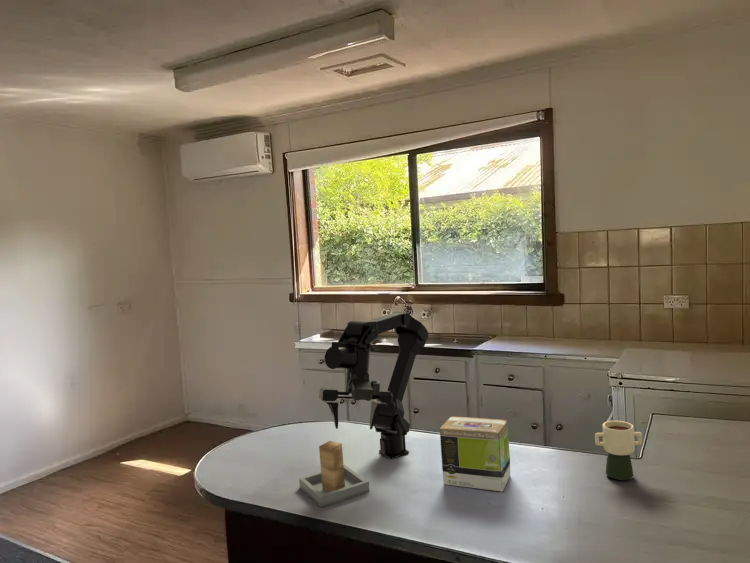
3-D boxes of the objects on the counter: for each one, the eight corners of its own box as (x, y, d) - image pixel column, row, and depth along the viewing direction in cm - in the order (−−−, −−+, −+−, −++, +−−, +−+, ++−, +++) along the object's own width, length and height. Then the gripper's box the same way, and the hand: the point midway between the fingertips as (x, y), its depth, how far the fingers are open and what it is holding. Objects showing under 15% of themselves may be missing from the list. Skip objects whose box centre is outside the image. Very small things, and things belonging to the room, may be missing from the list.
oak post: (333, 482, 148) (329, 440, 147) (345, 485, 145) (341, 443, 144) (322, 488, 145) (319, 446, 143) (334, 492, 142) (331, 449, 141)
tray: (345, 473, 154) (344, 464, 154) (369, 491, 143) (368, 481, 142) (299, 487, 147) (299, 478, 147) (321, 507, 136) (320, 497, 136)
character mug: (638, 470, 144) (637, 419, 143) (647, 483, 137) (646, 430, 136) (592, 470, 146) (591, 420, 144) (599, 483, 139) (598, 431, 137)
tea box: (511, 475, 146) (508, 418, 145) (502, 493, 137) (499, 433, 136) (454, 468, 153) (450, 414, 151) (442, 485, 143) (438, 427, 142)
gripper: (328, 369, 142) (324, 434, 141) (400, 372, 147) (397, 435, 146) (320, 366, 153) (316, 426, 152) (388, 369, 158) (384, 427, 156)
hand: (353, 428), depth 151 cm, fingers open, 9 cm apart
